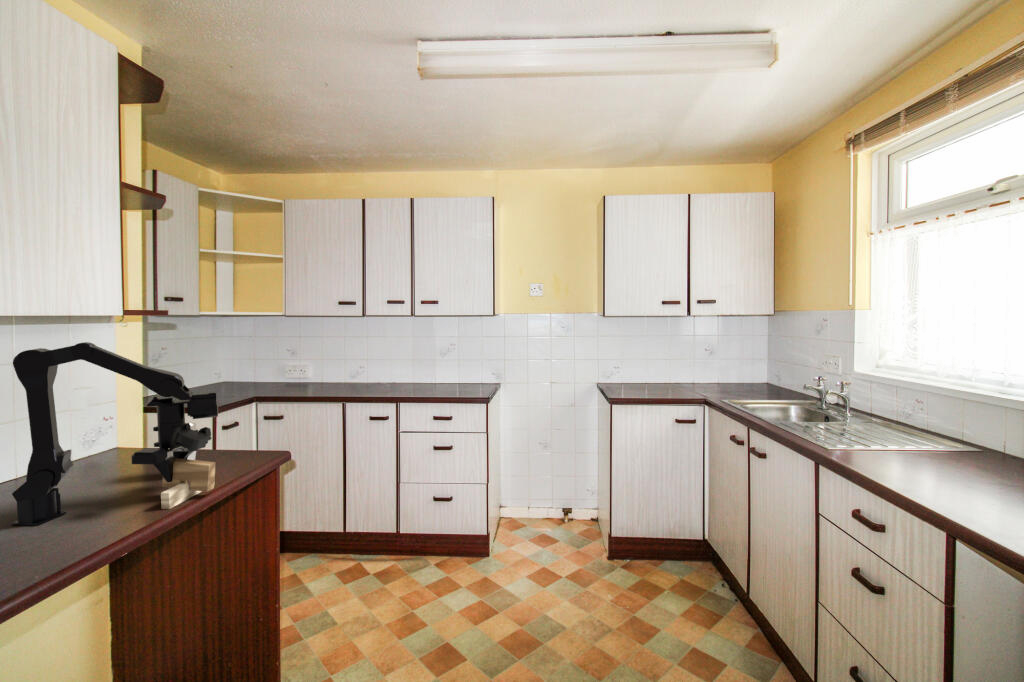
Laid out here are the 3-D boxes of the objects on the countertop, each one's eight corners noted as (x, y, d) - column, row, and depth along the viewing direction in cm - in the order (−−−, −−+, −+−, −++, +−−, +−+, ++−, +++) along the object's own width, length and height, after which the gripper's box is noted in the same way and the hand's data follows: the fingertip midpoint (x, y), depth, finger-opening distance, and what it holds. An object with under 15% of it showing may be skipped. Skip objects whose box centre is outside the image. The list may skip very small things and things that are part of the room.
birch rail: (169, 509, 109) (168, 493, 108) (161, 508, 109) (160, 492, 108) (214, 484, 125) (214, 470, 124) (207, 484, 125) (207, 470, 124)
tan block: (207, 491, 115) (208, 465, 115) (162, 486, 115) (163, 460, 115) (213, 488, 118) (215, 462, 117) (169, 483, 118) (171, 457, 117)
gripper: (173, 430, 106) (176, 494, 107) (225, 413, 125) (227, 468, 126) (128, 430, 106) (131, 494, 107) (186, 413, 125) (189, 467, 126)
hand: (173, 480), depth 116 cm, fingers closed on tan block, 2 cm apart
